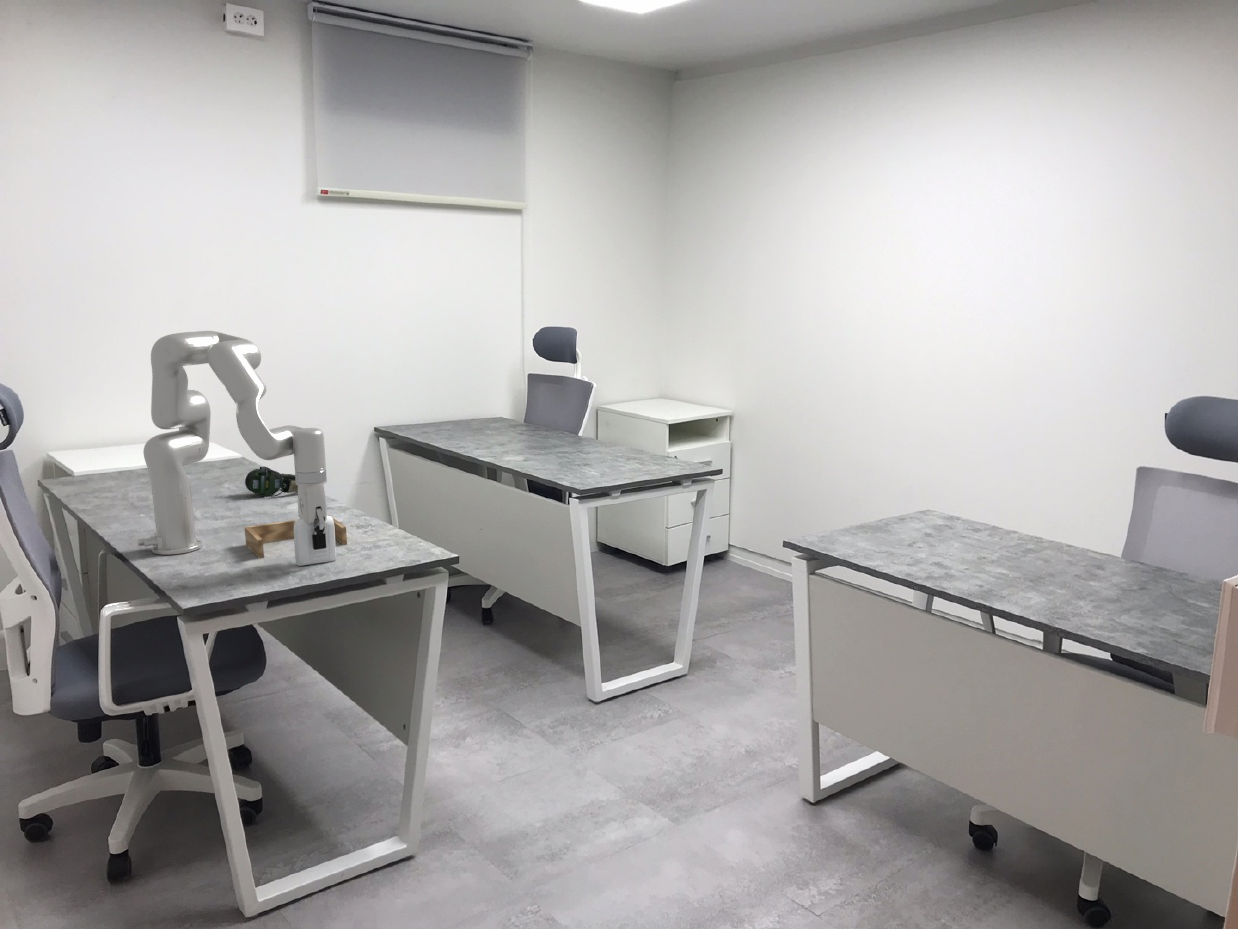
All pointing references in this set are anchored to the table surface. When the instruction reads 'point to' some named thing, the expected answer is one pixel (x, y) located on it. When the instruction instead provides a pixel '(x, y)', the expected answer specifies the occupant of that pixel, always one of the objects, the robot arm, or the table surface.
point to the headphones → (270, 482)
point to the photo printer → (305, 543)
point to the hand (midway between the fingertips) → (315, 545)
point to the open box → (281, 534)
